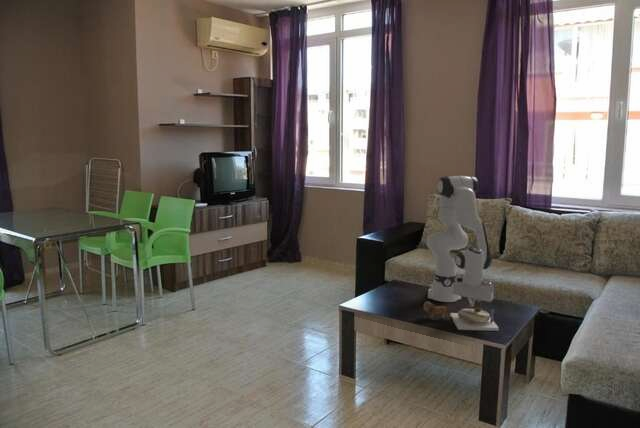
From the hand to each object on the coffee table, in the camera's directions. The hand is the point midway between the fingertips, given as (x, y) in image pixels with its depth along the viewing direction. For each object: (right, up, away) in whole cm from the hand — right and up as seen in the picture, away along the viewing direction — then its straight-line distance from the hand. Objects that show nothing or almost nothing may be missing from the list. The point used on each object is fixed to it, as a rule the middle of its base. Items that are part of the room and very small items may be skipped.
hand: (471, 306), depth 260 cm
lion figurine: (-18, -7, 0) cm, 19 cm away
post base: (-1, -7, -5) cm, 9 cm away
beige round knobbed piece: (0, -4, -5) cm, 6 cm away
